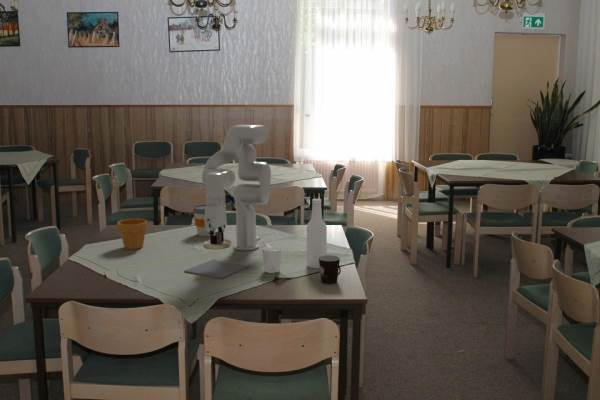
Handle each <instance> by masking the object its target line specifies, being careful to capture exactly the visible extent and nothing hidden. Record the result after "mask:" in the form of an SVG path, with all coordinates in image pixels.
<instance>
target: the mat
mask: <svg viewBox="0 0 600 400" xmlns="http://www.w3.org/2000/svg"><path fill="white" fill-rule="evenodd" d="M247 268H248V269H249V268H250V265H247V264H243V263H237V262H236V263H235V262H232V261H225V260H219V259H211V260H208V261H206V262H203V263H201V264H197V265H195V266H192V267H190V268H188V269H185V270H184V271H183V272H184V273H188V274H193V275H197V276H199V275H200V276H203V277H204V276H205V277H208V278H213V279H219V280H223V279H225V278H227V277H230V276H232V275H235V274H236V273H239V272H241V271H244V270H246V269H247ZM243 269H244V270H243Z"/></svg>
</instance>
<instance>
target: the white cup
mask: <svg viewBox="0 0 600 400" xmlns="http://www.w3.org/2000/svg"><path fill="white" fill-rule="evenodd" d="M262 255H263V256H262V257H263V270H264V272H265V273H267V272H268V274H276V273H275V272H277V273H280V272H281V264H282V263H281V261H282V248H281V247H279V246H274V245H273V246H272V245H271V246H264V247H262Z"/></svg>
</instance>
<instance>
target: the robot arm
mask: <svg viewBox="0 0 600 400" xmlns="http://www.w3.org/2000/svg"><path fill="white" fill-rule="evenodd" d="M225 135H226V136H225V138H224V141H223V144H222V146H221V149H219V150H218V151H217V152H215V153H213V154H212V155H211V156H210V157H209V158H208V159H207V161H206V163H205V165H204V167H203V170H202V173H201V181H202V183H203V184H204V185H205V194H206V196H205V198H206V204H205V205H206V207H205V231H207V232H208V233H209V235H210V236H209V240H210V243H211V244H217V235H216V232H221V234H222V242H223V241H224V239H225V238H224V237H225V236H224V232H225V229H226V226H227V225H228V221H227V220H228V219H227V218H228V217H227V210H226V204H225V189H224V188H228V187H231V186H232V185H233V184H234V183H235V181H236V174H235V172H234V171H233V170H231V169H228V168H227V169H225V168H224V169H223V168H219V167H220V166H223V165H225V164H228V163H231V162H234V161H237V159H238V161H237V162H238V164H237V166H238V167H237V176H238V177H237V178H238V179H239V180H240V181H242V182H255V183H256V182H257V183H259V184H253V183H240V184H237V185H236V186H235V187H234V189H233V200H234V203H235V223H236V225H235V226H236V227H235V228H236V243H235V244H234V245H233V249H235V250H237V251H242V252H243V251H246V252H248V251H255V250H258V249H259V248H260V244H259V243H258V241H260V240H261V239H262V238H261V236H257V220H256V219H257V217H256V216H257V215H256V209H255V208H254V206H253V205H266V204H268V202H269V201H270V196H271V178H272V177H271V176H272V174H271V173H272V171H271V167H270V165H269V164H268V162H265V161H257V150H256V148H255V145H260V144H263V143H265V142H266V140H267V138H268V129H267V128H266V126H265V125H263V124H237V125H233V126H230V127H229V128H228V130H227V133H226V134H225ZM212 229H213V231H212Z"/></svg>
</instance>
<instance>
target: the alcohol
mask: <svg viewBox="0 0 600 400" xmlns="http://www.w3.org/2000/svg"><path fill="white" fill-rule="evenodd" d="M311 201H312V202H311V203H312V205H311V217H310V220H309V222H308V223H307V225H306V266H307V267H308V268H310V269H319V270H320V265H319V257H320V256H324V255H328V253H327V250H328V249H327V248H328V247H327V246H328V244H327V241H328V240H327V239H328V237H327V236H328V235H327V234H328V230H327V229H328V228H327V227H328V226H327V223H326V222H325V221H324V219H323V213H322V212H323V211H322V199H321V198H313V199H311Z"/></svg>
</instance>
